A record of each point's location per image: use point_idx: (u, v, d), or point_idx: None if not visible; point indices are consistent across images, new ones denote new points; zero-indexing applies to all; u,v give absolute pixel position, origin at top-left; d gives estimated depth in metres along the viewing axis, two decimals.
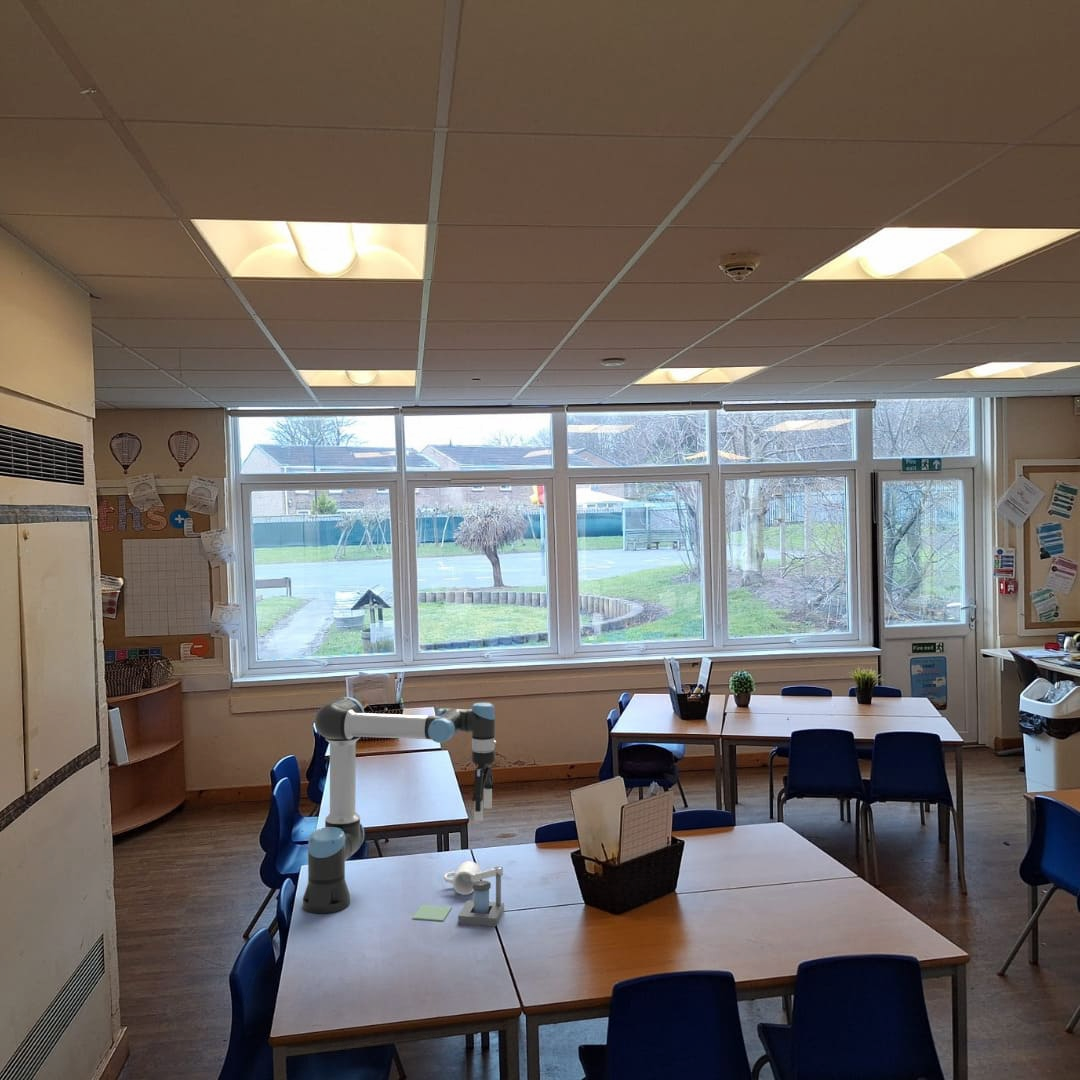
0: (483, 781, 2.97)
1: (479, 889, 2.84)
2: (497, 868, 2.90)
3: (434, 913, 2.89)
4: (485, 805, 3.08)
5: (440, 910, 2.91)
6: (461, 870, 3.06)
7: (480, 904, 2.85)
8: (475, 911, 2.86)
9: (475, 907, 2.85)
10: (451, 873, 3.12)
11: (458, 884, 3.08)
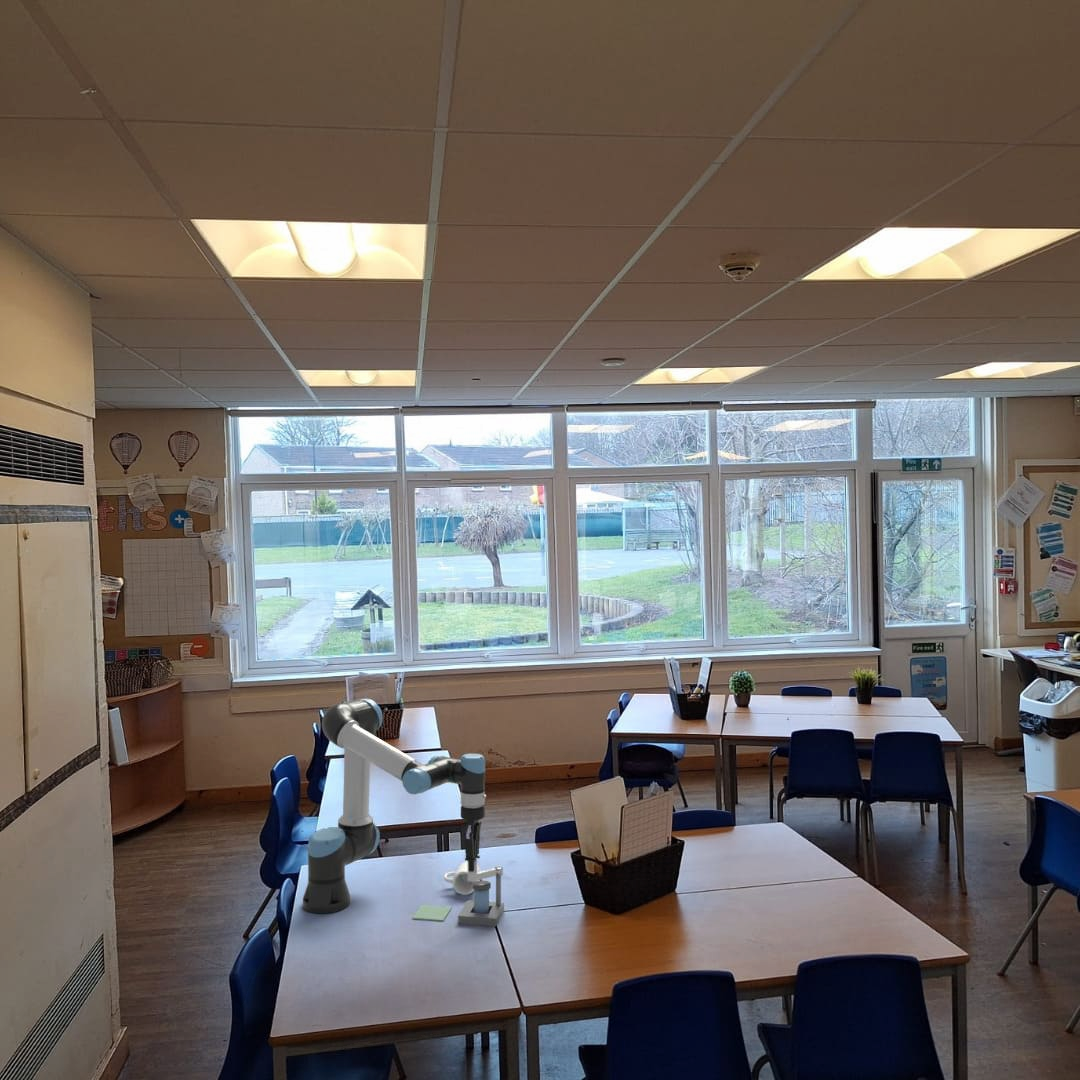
0: (474, 840, 2.82)
1: (479, 889, 2.84)
2: (497, 868, 2.90)
3: (434, 913, 2.89)
4: None
5: (440, 910, 2.91)
6: (461, 870, 3.06)
7: (480, 904, 2.85)
8: (475, 911, 2.86)
9: (475, 907, 2.85)
10: (451, 873, 3.12)
11: (458, 884, 3.08)
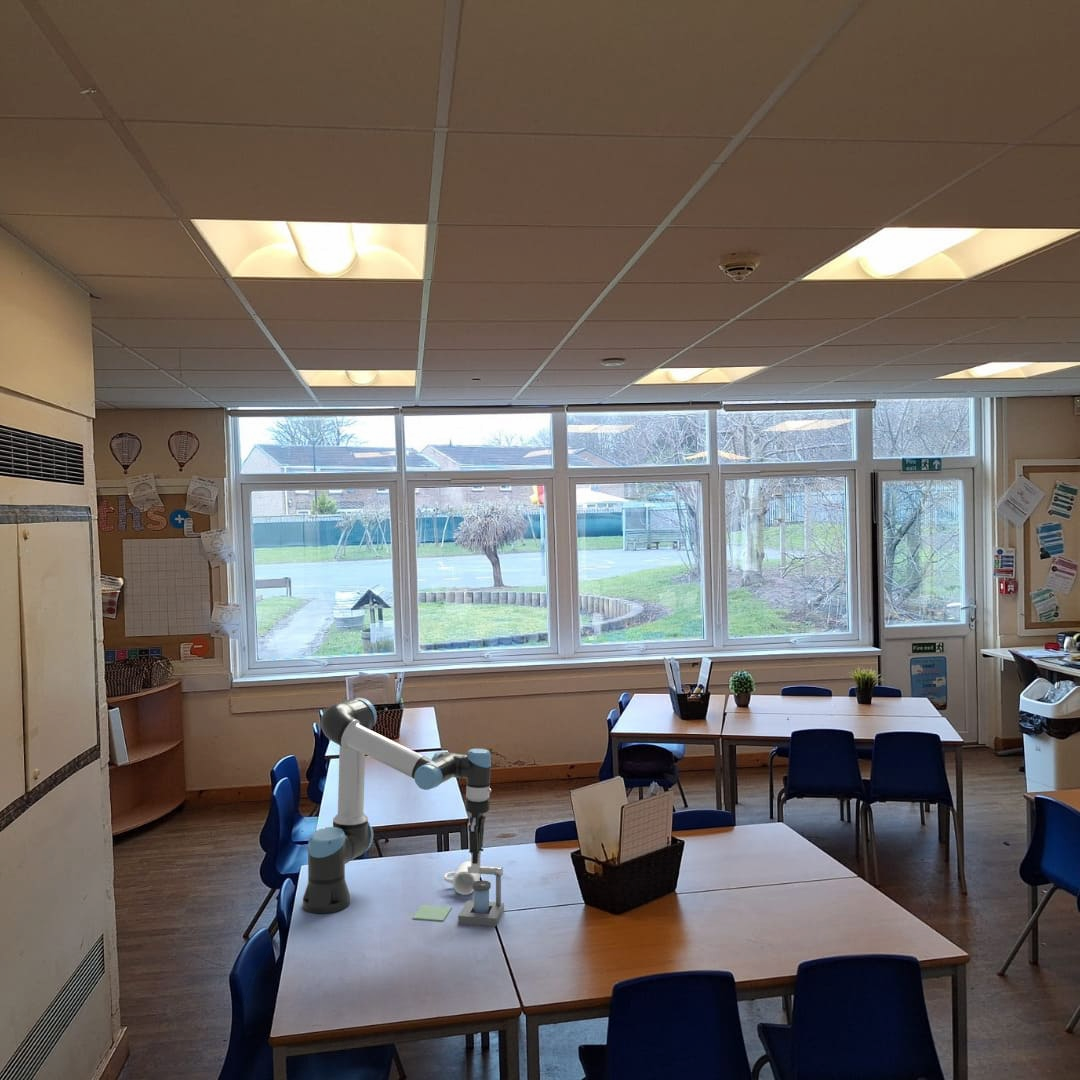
0: (478, 833, 2.89)
1: (479, 889, 2.84)
2: (496, 868, 2.91)
3: (434, 913, 2.89)
4: None
5: (440, 910, 2.91)
6: (461, 870, 3.06)
7: (480, 904, 2.85)
8: (475, 911, 2.86)
9: (475, 907, 2.85)
10: (451, 873, 3.12)
11: (458, 884, 3.08)
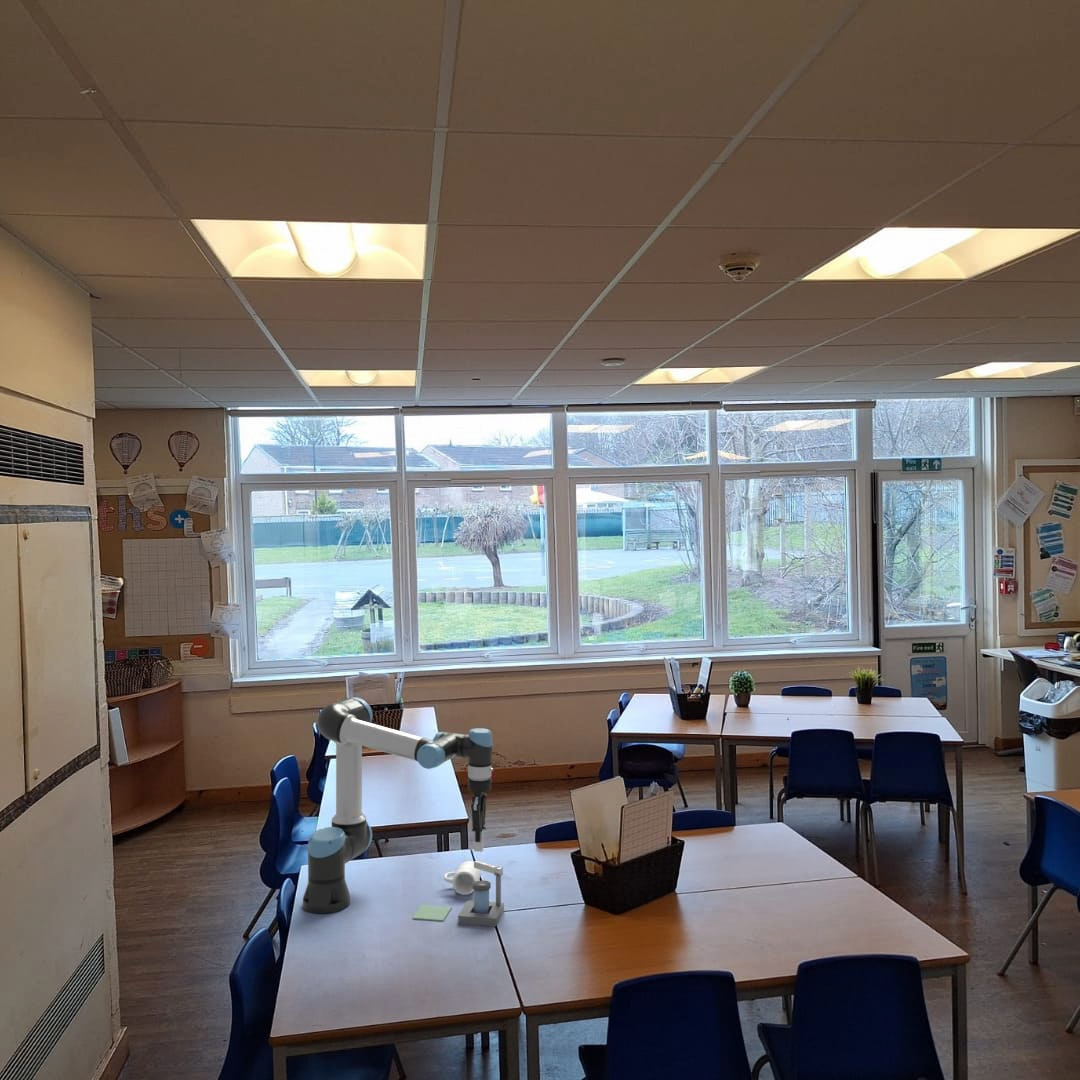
0: (481, 812, 2.91)
1: (479, 889, 2.84)
2: (496, 867, 2.91)
3: (434, 913, 2.89)
4: None
5: (440, 910, 2.91)
6: (461, 870, 3.06)
7: (480, 904, 2.85)
8: (475, 911, 2.86)
9: (475, 907, 2.85)
10: (451, 873, 3.12)
11: (458, 884, 3.08)
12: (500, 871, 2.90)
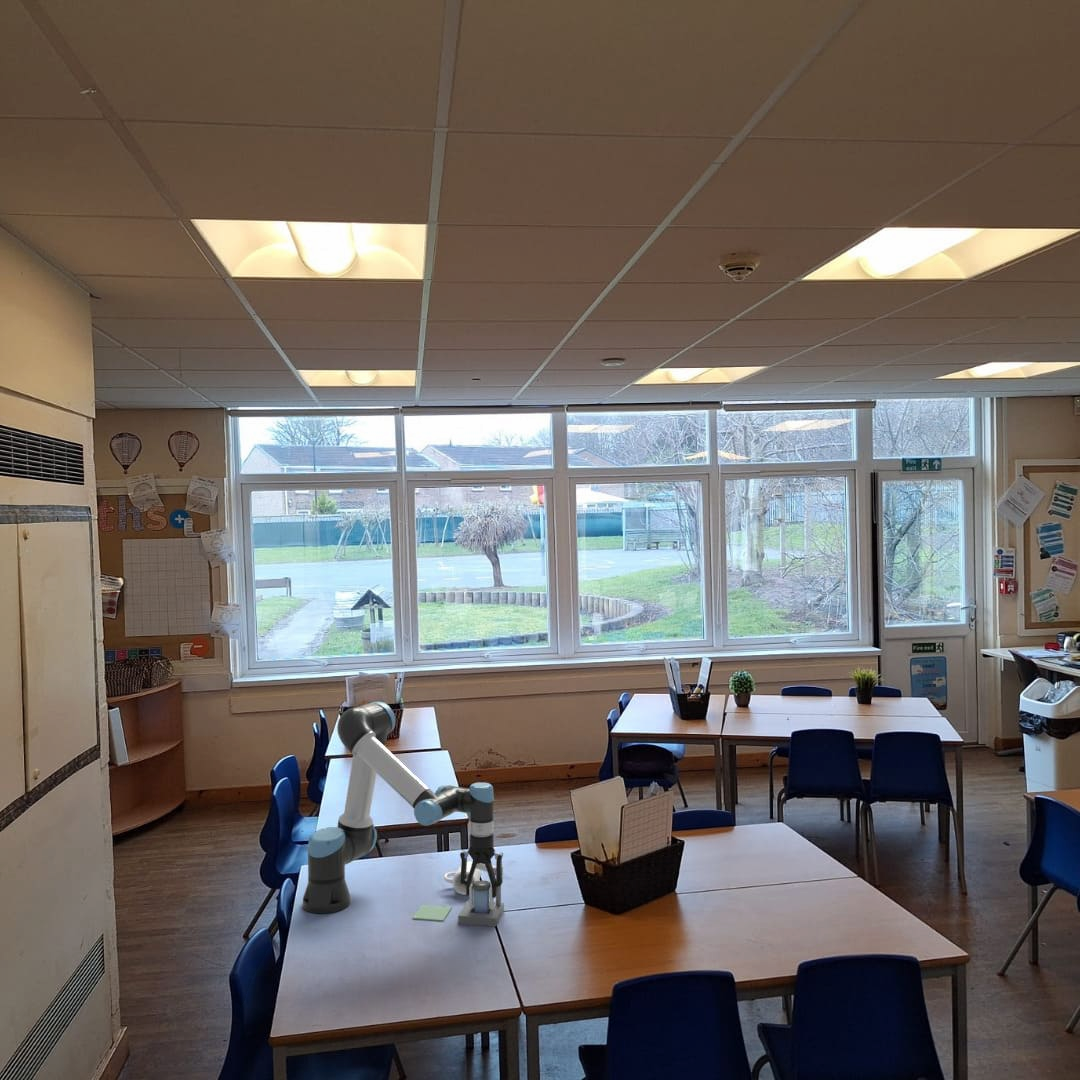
0: (471, 866, 2.86)
1: (479, 889, 2.84)
2: None
3: (434, 913, 2.89)
4: None
5: (440, 910, 2.91)
6: None
7: (480, 904, 2.85)
8: (475, 911, 2.86)
9: (475, 907, 2.85)
10: (451, 873, 3.12)
11: (458, 884, 3.08)
12: None
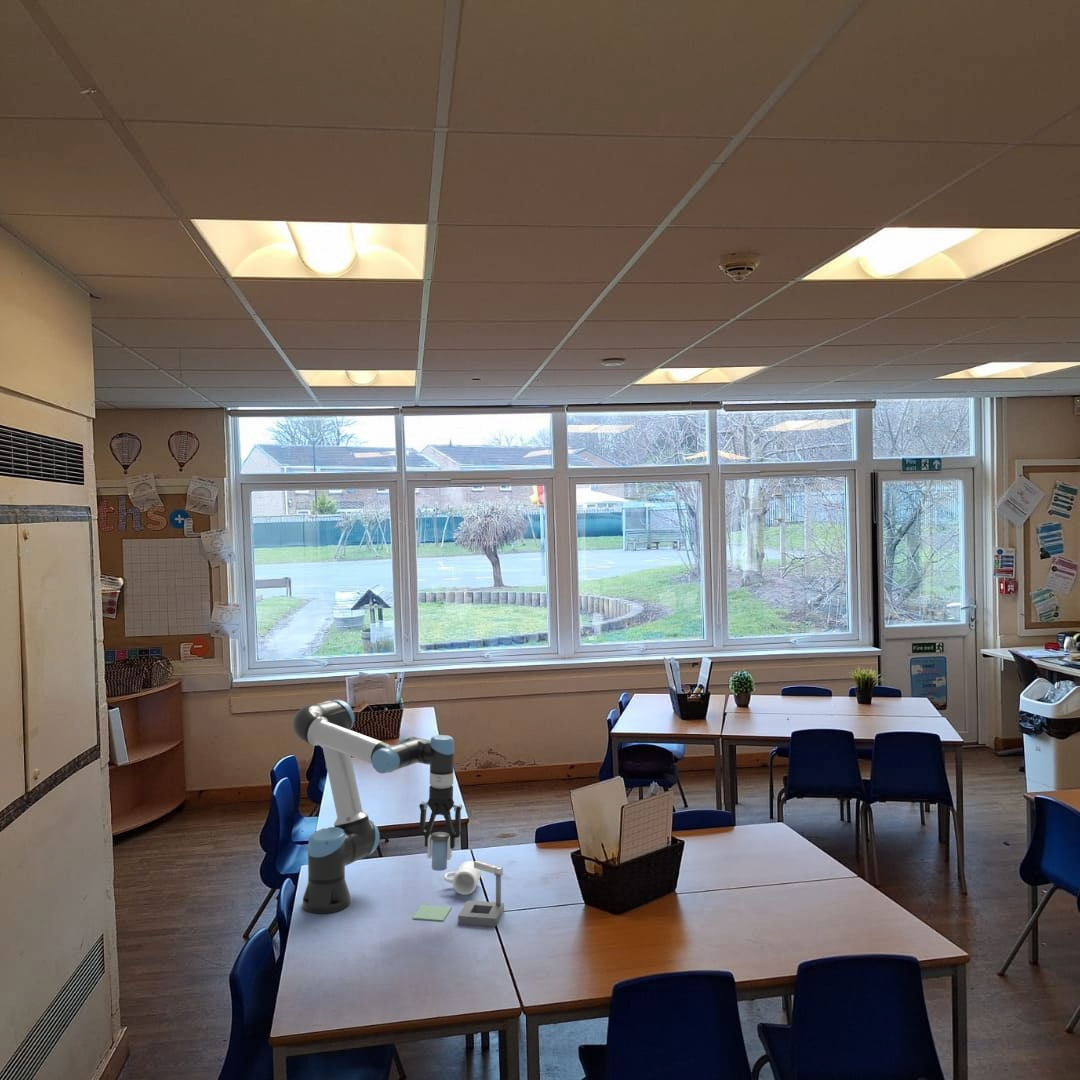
0: (430, 817, 2.89)
1: (437, 840, 2.87)
2: (496, 867, 2.91)
3: (434, 913, 2.89)
4: None
5: (440, 910, 2.91)
6: (461, 870, 3.06)
7: (438, 855, 2.87)
8: (433, 861, 2.88)
9: (433, 857, 2.88)
10: (451, 873, 3.12)
11: (458, 884, 3.09)
12: (500, 871, 2.90)
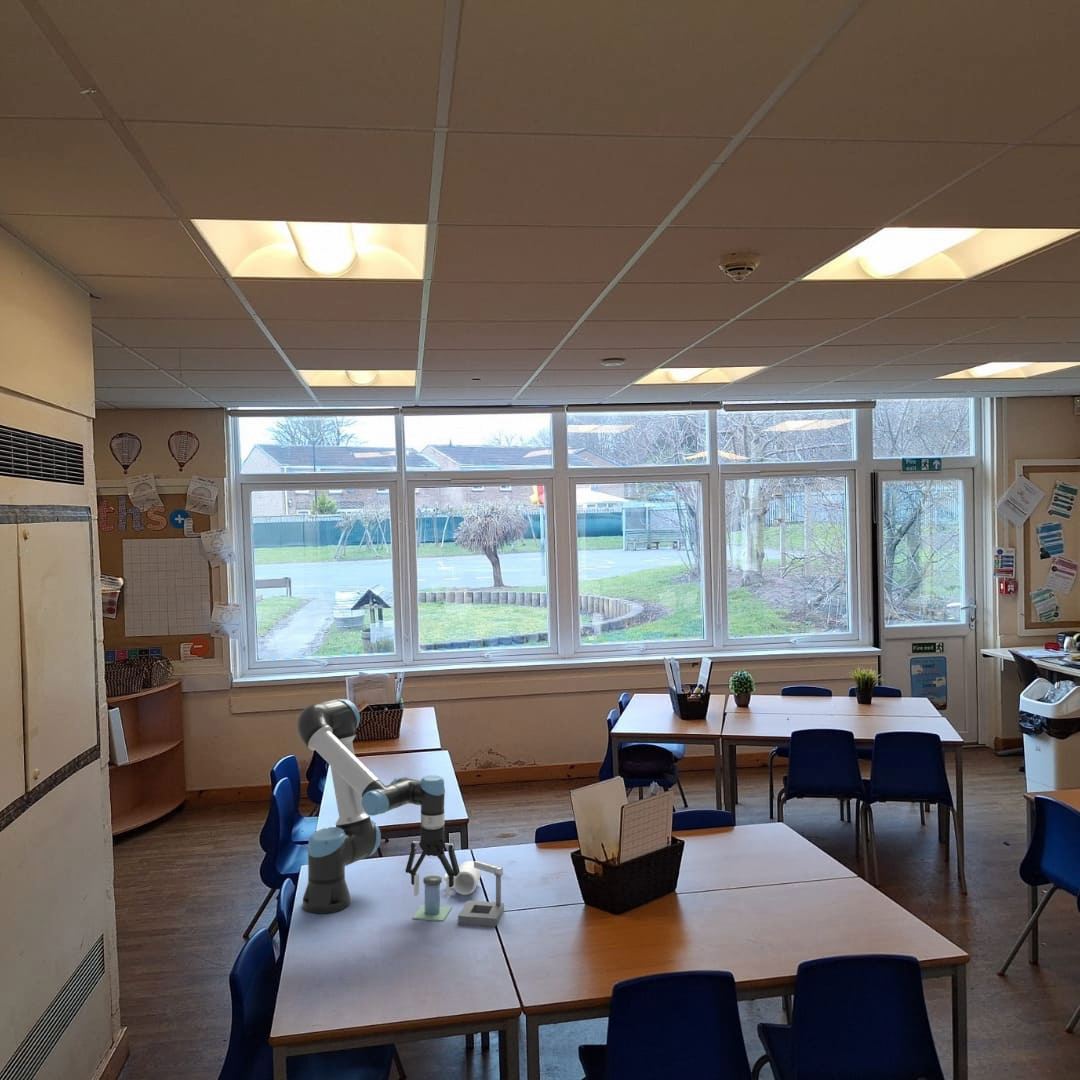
0: (420, 856, 2.89)
1: (430, 883, 2.87)
2: (496, 867, 2.91)
3: None
4: None
5: (440, 910, 2.91)
6: (461, 870, 3.06)
7: (431, 899, 2.87)
8: (426, 906, 2.88)
9: (426, 902, 2.88)
10: None
11: (458, 884, 3.09)
12: (500, 871, 2.90)
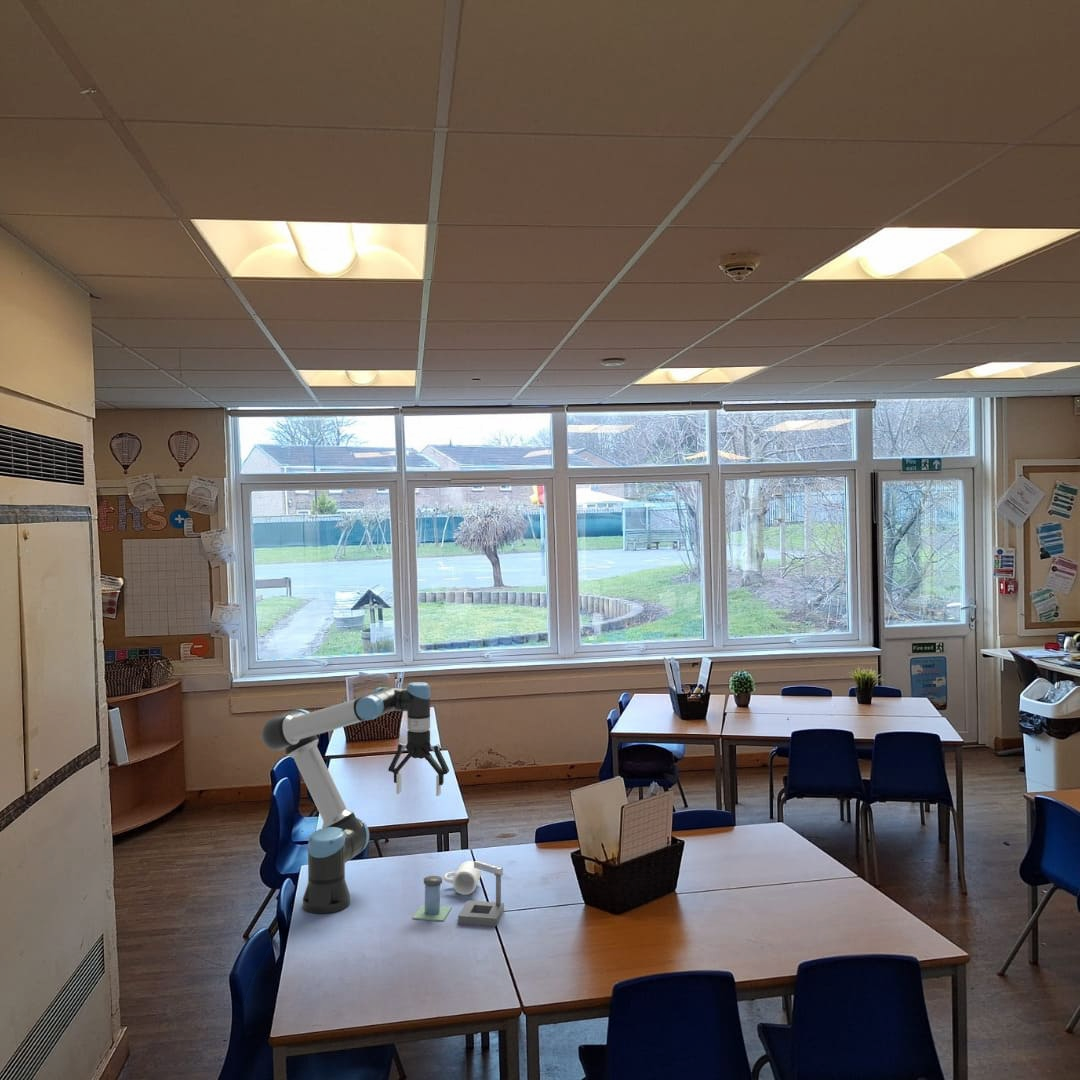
0: (405, 757, 3.01)
1: (430, 884, 2.87)
2: (496, 867, 2.91)
3: None
4: None
5: (440, 910, 2.91)
6: (461, 870, 3.06)
7: (431, 899, 2.87)
8: (426, 906, 2.88)
9: (426, 902, 2.88)
10: (451, 873, 3.13)
11: (458, 884, 3.09)
12: (500, 871, 2.90)
